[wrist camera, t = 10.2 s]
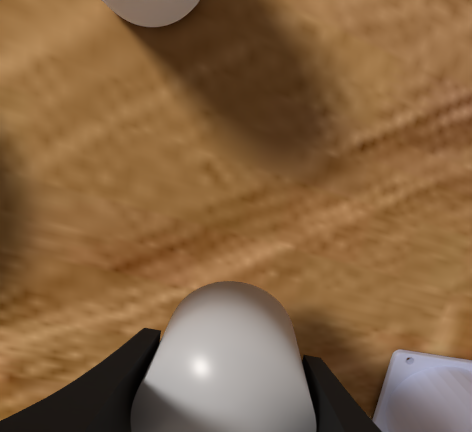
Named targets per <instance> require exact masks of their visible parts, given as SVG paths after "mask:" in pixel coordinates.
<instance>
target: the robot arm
mask: <svg viewBox="0 0 472 432" xmlns="http://www.w3.org/2000/svg"><path fill="white" fill-rule="evenodd" d="M160 334H161V331H160V330H154V329H149V328H144V329H142V330H141V331H140V332H138V333H137V334H136V335H135V336H134V337H132V338H131V339H130V340H129V341H127V342H126V343H125V344H124V345H123V346H121V347H120V348H119V349H118V350H116V351H115V352H114V353H112V354H111V355H110V356H109V357H107V358H106V359H105V360H103V361H102V362H101V363H99V364H98V365H96V366H95V367H94V368H92V369H91V370H89V371H88V372H86V373H85V374H84V375H82V376H81V377H79V378H78V379H76V380H75V381H73V382H72V383H70V384H68V385H67V386H65V387H64V388H62V389H60V390H59V391H57V392H55V393H54V394H52V395H50V396H48V397H47V398H45V399H43V400H41V401H39V402H37V403H35V404H33V405H31V406H29V407H27V408H26V409H24V410H22V411H20V412H18V413H16V414H14V415H12V416H10V417H8V418H6V419H4V420H1V421H0V432H132V431H131V423H130V421H131V409H132V404H133V400H134V398H135V395H136V392H137V390H138V388H139V386H140V384H141V382H142V380H143V377H144V375H145V373H146V371H147V369H148V367H149V364H150V362H151V360H152V358H153V356H154V354H155V352H156V349H157V347H158V345H159V342H160ZM409 357H411V358H410V359H409V360H406V359H407V358H409ZM302 364H303V368H304V372H305V376H306V380H307V384H308V388H309V392H310V396H311V401H312V405H313V409H314V413H315V418H316V432H472V360H466V359H459V358H453V357H446V356H440V355H433V354H427V353H420V352H414V351H408V350H396V351H395V352H394V353H393V354H392V357H391V360H390V364H389V367H388V370H387V374H386V377H385V380H384V383H383V387H382V390H381V393H380V397H379V400H378V403H377V407H376V410H375V413H374V416H373V420H371V419H370V418H369V417H368V416H367V414H366V413H365V412H364V411H363V410H362V409H361V407H360V406H359V405H358V404H357V403H356V402H355V400H354V399H353V398H352V397H351V396H350V394H349V393H348V392H347V391H346V389H345V388H344V387H343V386H342V384H341V383H340V382H339V381H338V379H337V378H336V377H335V376H334V374H333V373H332V372H331V370H330V369H329V368H328V367H327V365H326V364H325V363H324V362H323V360H322V359H321V358H318V357H313V356H307V355H304V356H303V360H302Z"/></svg>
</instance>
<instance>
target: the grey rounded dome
mask: <svg viewBox="0 0 472 432" xmlns="http://www.w3.org/2000/svg"><path fill="white" fill-rule="evenodd" d="M130 423H131V431H132V432H316V418H315V413H314V409H313V405H312V401H311V396H310V392H309V388H308V384H307V380H306V376H305V372H304V368H303V364H302V360H301V356H300V352H299V348H298V344H297V340H296V336H295V332H294V328H293V325H292V322H291V319H290V317H289V315H288V313H287V312H286V310H285V309H284V307H283V306H282V305H281V304H280V302H279V301H278V300H276V299H275V298H274V297H273V296H272V295H270V294H269V293H267V292H266V291H264V290H262V289H260V288H258V287H256V286H253V285H251V284H247V283H242V282H234V281H224V282H216V283H212V284H208V285H206V286H203V287H201V288H199V289H197V290H195V291H193V292H192V293H190V294H189V295H188V296H187V297H185V298H184V299H183V300H182V301H181V303H180V304H179V305H178V307H177V308H176V309H175V311H174V313H173V315H172V317H171V319H170V321H169V324H168V326H167V328H166V330H165V332H164V334H163V336H162V339H161V341H160V343H159V345H158V347H157V349H156V352H155V354H154V356H153V358H152V360H151V362H150V364H149V367H148V369H147V371H146V373H145V375H144V377H143V380H142V382H141V384H140V386H139V388H138V390H137V392H136V395H135V398H134V400H133V404H132V409H131V421H130Z"/></svg>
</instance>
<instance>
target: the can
mask: <svg viewBox="0 0 472 432" xmlns="http://www.w3.org/2000/svg"><path fill="white" fill-rule="evenodd" d="M102 1H103V2H104V3H105V4H106V5H107V6H108V7H109V8H110V9H111V10H112V11H114V12H115V13H116V14H117V15H119V16H120V17H122V18H123V19H125V20H127V21H128V22H131V23H133V24H136V25H139V26H144V27H161V26H166V25H169V24H172V23H174V22H176V21H178V20H180V19H182V18H183V17H184V16H186V15H187V14H188V13H189V12H190V11H191V10H192V9H193V8H194V7H195V6H196V5H197V3H198V2H199V0H102Z"/></svg>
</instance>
